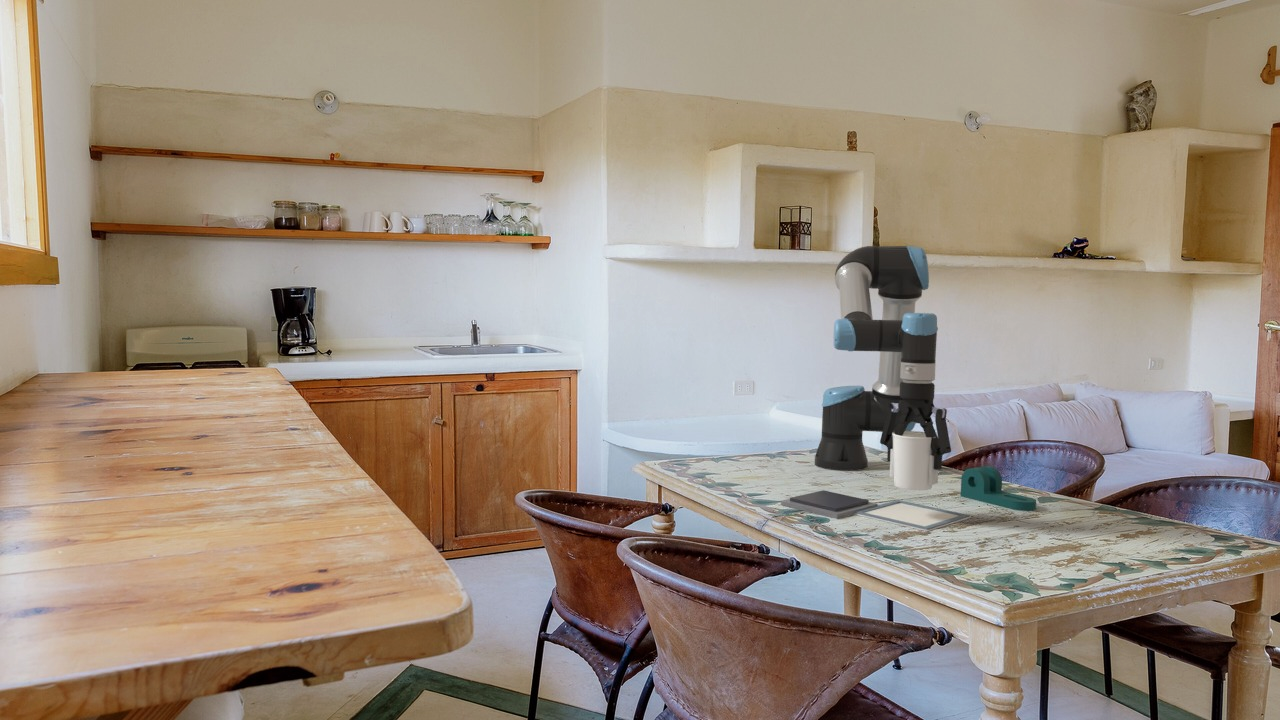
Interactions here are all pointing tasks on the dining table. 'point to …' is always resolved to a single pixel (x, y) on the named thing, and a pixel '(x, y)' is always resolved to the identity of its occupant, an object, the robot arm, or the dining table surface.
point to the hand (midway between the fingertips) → (913, 479)
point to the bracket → (992, 489)
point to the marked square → (913, 515)
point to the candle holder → (911, 460)
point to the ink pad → (828, 504)
